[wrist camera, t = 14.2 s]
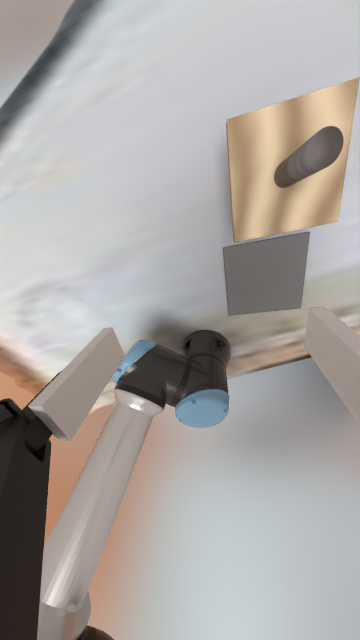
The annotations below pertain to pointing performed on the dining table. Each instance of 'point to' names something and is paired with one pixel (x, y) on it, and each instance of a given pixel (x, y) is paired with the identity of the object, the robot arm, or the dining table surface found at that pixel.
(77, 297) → the dining table surface
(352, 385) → the robot arm
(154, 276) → the dining table surface
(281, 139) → the lid
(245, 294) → the mat
